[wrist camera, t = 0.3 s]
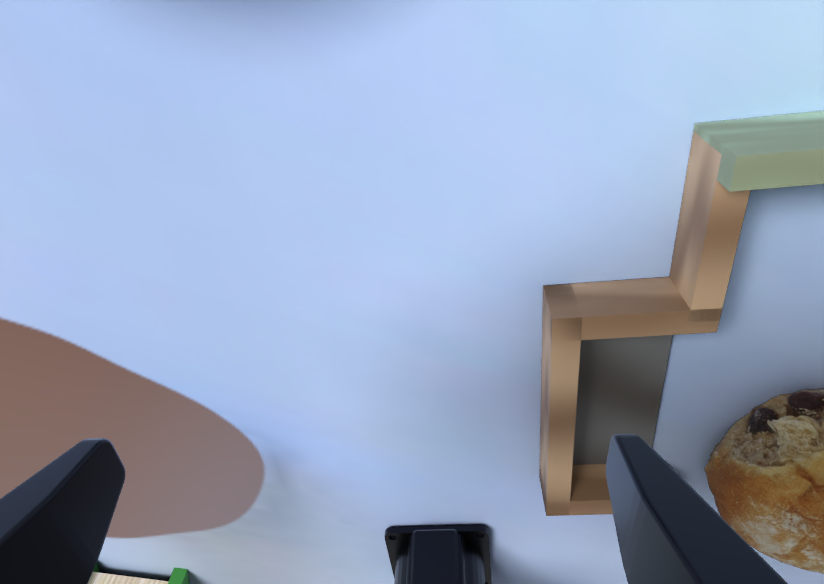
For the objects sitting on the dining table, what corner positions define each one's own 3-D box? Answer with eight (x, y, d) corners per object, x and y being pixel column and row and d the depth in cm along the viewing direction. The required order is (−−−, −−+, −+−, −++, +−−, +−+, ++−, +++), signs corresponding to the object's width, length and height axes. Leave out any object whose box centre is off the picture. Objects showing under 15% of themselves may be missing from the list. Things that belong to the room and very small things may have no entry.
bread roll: (669, 440, 35) (706, 583, 31) (726, 379, 26) (787, 567, 22) (838, 432, 34) (899, 579, 30) (955, 366, 25) (1065, 560, 21)
